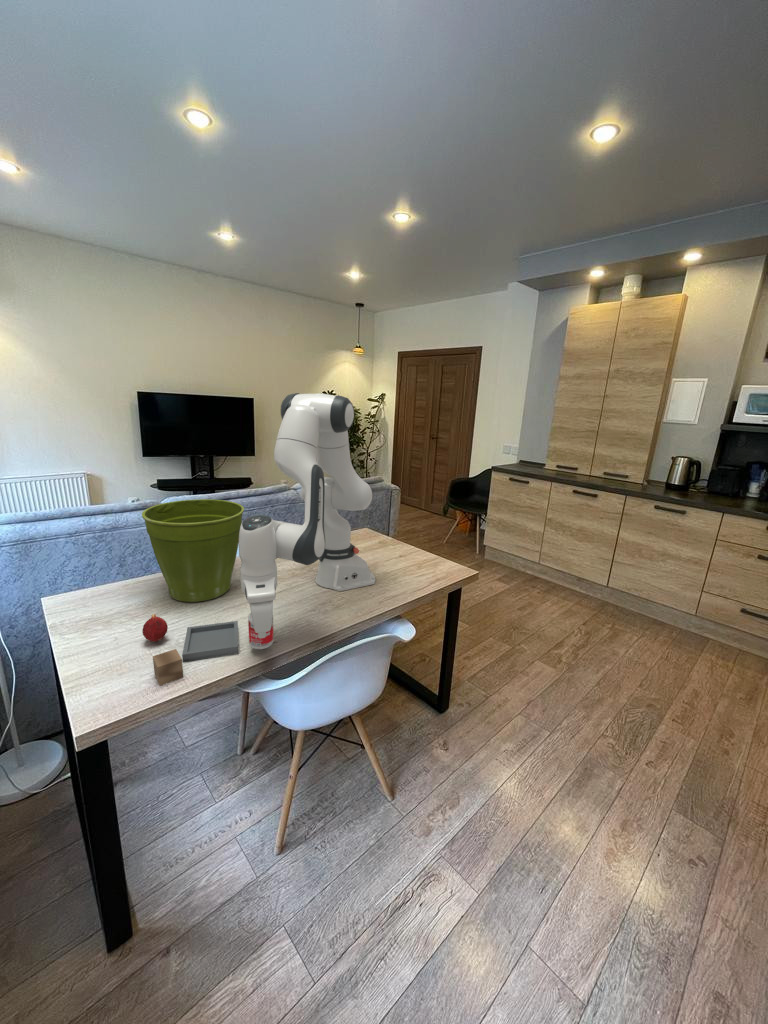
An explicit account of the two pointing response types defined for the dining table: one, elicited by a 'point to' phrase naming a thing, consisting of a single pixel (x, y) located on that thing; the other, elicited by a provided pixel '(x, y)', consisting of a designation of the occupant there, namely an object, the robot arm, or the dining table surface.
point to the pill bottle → (255, 640)
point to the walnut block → (168, 667)
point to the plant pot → (195, 545)
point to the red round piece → (154, 628)
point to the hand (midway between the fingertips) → (261, 628)
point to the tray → (211, 641)
